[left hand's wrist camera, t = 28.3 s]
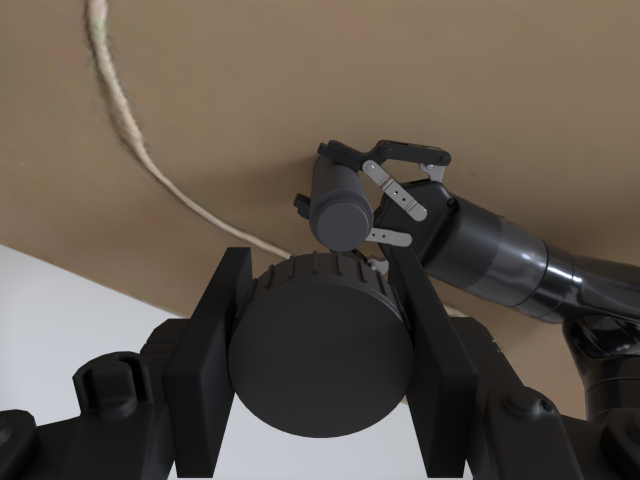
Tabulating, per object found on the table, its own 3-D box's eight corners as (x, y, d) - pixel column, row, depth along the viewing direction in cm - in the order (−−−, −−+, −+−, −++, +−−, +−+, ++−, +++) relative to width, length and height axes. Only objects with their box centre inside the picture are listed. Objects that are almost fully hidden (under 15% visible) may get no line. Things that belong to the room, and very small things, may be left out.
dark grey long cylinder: (356, 151, 43) (379, 196, 26) (353, 193, 44) (373, 260, 28) (314, 149, 43) (310, 192, 26) (312, 191, 44) (307, 257, 28)
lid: (201, 320, 12) (183, 358, 11) (330, 214, 11) (331, 239, 9) (313, 420, 14) (312, 468, 12) (438, 334, 12) (456, 374, 11)
